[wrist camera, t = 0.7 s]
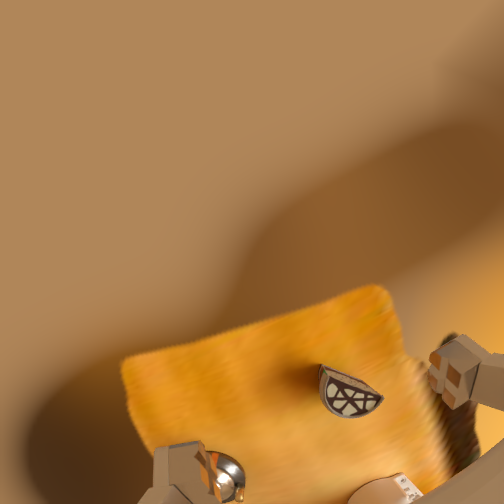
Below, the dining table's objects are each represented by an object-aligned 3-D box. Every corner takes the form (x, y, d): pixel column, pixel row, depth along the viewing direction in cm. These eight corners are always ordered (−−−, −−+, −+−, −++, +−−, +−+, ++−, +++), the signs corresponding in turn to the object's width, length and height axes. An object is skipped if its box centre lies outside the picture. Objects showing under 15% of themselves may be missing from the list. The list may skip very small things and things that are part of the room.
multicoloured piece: (231, 500, 52) (229, 519, 45) (186, 492, 52) (180, 510, 45) (240, 453, 53) (239, 471, 46) (192, 444, 53) (185, 461, 46)
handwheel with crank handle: (259, 474, 54) (259, 494, 47) (218, 507, 54) (215, 527, 46) (205, 439, 55) (199, 457, 48) (167, 475, 54) (159, 493, 47)
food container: (299, 388, 56) (308, 408, 46) (314, 360, 57) (326, 375, 47) (353, 408, 56) (369, 429, 46) (367, 382, 56) (386, 399, 46)
